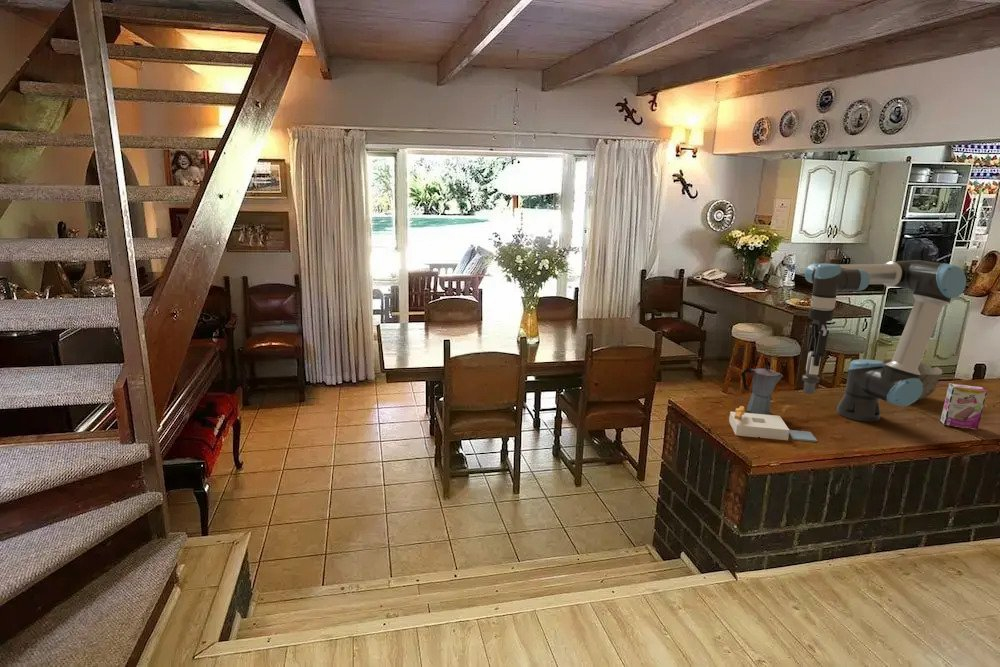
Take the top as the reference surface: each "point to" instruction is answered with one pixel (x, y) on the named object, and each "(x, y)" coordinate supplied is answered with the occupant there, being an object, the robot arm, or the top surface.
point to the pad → (802, 435)
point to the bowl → (927, 378)
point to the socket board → (759, 426)
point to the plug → (809, 378)
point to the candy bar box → (963, 405)
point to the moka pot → (761, 389)
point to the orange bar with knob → (739, 412)
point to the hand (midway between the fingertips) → (811, 372)
